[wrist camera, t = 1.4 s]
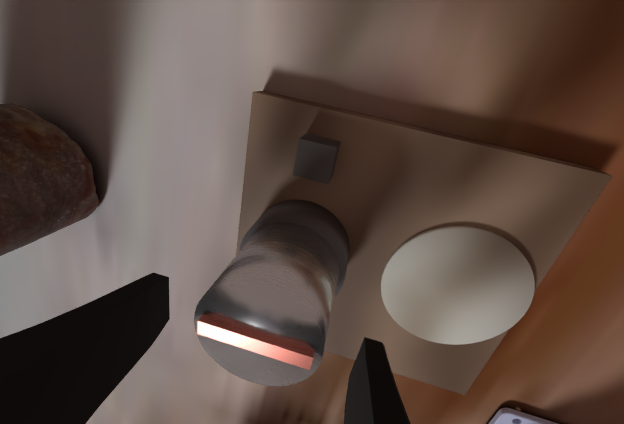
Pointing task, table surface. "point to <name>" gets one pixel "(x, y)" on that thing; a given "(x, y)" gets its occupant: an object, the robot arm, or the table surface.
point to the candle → (39, 179)
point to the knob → (271, 306)
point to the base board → (414, 228)
